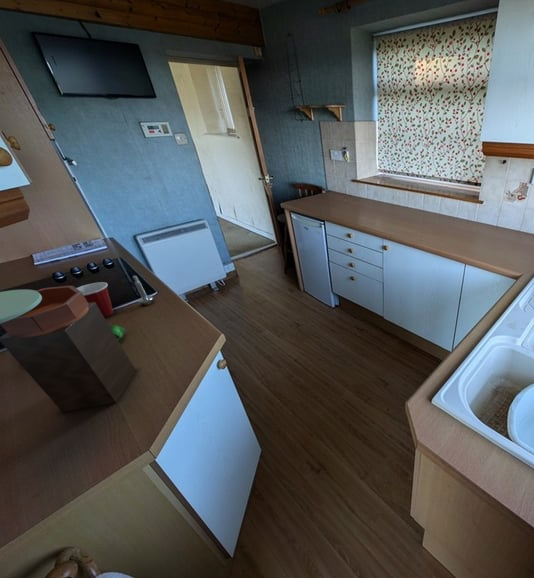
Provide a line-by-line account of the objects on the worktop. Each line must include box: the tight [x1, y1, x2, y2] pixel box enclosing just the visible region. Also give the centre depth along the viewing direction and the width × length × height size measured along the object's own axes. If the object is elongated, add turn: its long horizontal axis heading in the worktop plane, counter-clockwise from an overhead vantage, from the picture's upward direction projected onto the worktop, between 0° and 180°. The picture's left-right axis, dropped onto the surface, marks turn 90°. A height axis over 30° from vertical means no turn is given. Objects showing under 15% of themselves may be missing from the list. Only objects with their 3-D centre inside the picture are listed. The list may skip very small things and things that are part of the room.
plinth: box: [0, 285, 137, 413], centre depth 75 cm, size 14×14×30 cm
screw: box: [132, 275, 154, 306], centre depth 116 cm, size 13×5×5 cm
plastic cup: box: [75, 281, 114, 319], centre depth 109 cm, size 11×11×12 cm
